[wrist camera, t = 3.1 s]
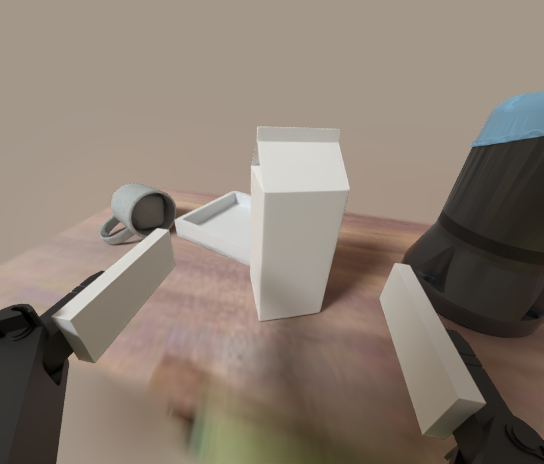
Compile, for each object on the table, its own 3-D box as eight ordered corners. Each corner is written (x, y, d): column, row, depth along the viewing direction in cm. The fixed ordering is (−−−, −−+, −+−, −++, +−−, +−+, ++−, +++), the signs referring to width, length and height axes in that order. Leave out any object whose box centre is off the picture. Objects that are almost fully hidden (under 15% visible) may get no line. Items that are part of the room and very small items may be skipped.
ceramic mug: (155, 212, 45) (145, 174, 41) (180, 227, 41) (172, 185, 37) (93, 235, 37) (73, 191, 33) (117, 256, 34) (98, 208, 29)
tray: (300, 223, 44) (302, 209, 43) (256, 269, 32) (256, 251, 31) (234, 203, 50) (234, 190, 49) (177, 235, 38) (174, 219, 37)
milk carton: (320, 313, 26) (363, 136, 17) (258, 322, 25) (265, 134, 15) (300, 272, 32) (324, 123, 22) (250, 277, 31) (251, 120, 21)
